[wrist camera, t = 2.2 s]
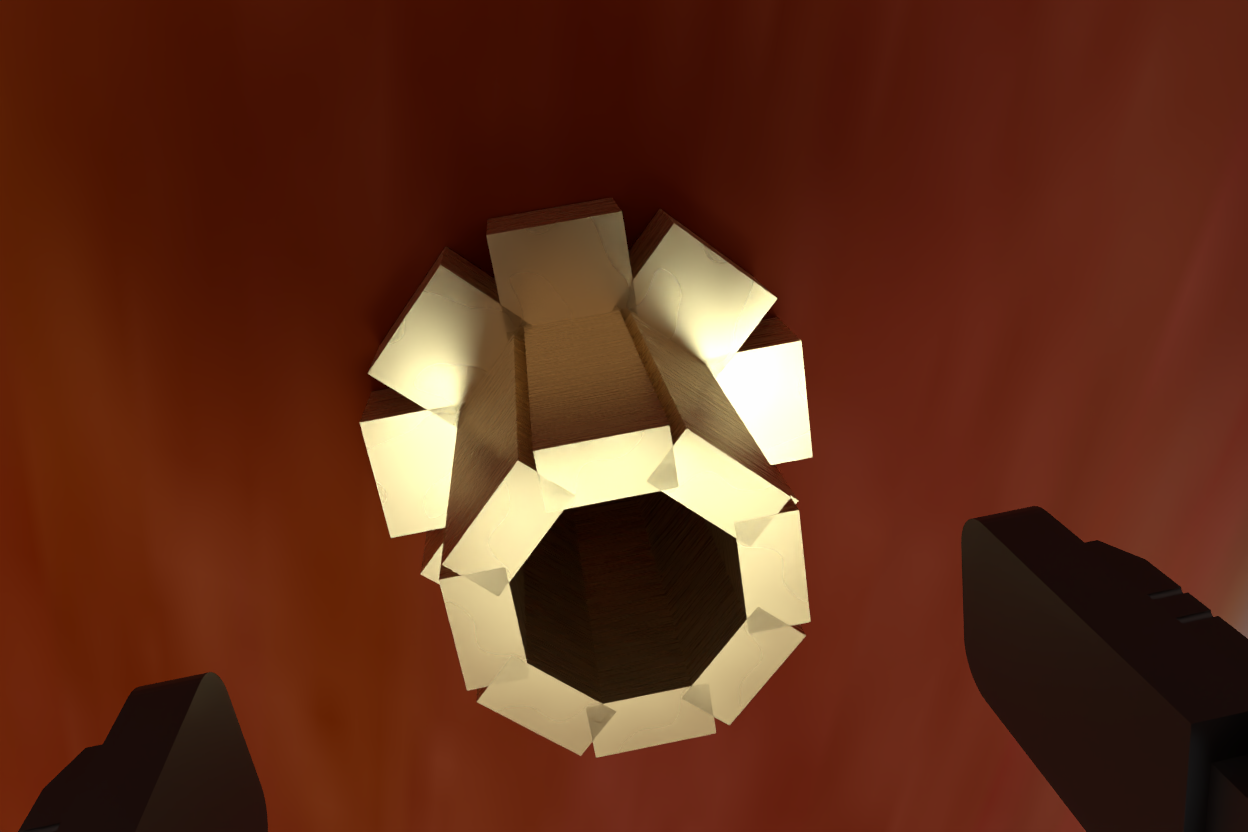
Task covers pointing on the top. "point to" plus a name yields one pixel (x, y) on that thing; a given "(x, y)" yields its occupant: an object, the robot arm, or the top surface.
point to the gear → (599, 474)
